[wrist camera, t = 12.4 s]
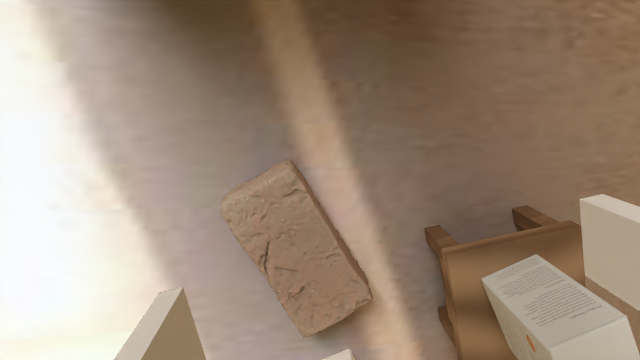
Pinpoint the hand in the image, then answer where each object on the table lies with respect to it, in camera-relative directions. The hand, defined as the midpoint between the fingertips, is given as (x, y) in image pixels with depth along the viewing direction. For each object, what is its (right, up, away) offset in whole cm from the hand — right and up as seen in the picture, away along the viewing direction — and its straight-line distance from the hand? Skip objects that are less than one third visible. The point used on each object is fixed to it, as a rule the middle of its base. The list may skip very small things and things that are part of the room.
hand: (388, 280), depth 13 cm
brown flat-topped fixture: (+16, -6, +32) cm, 36 cm away
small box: (+16, -8, +24) cm, 30 cm away
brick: (-5, -3, +30) cm, 31 cm away
